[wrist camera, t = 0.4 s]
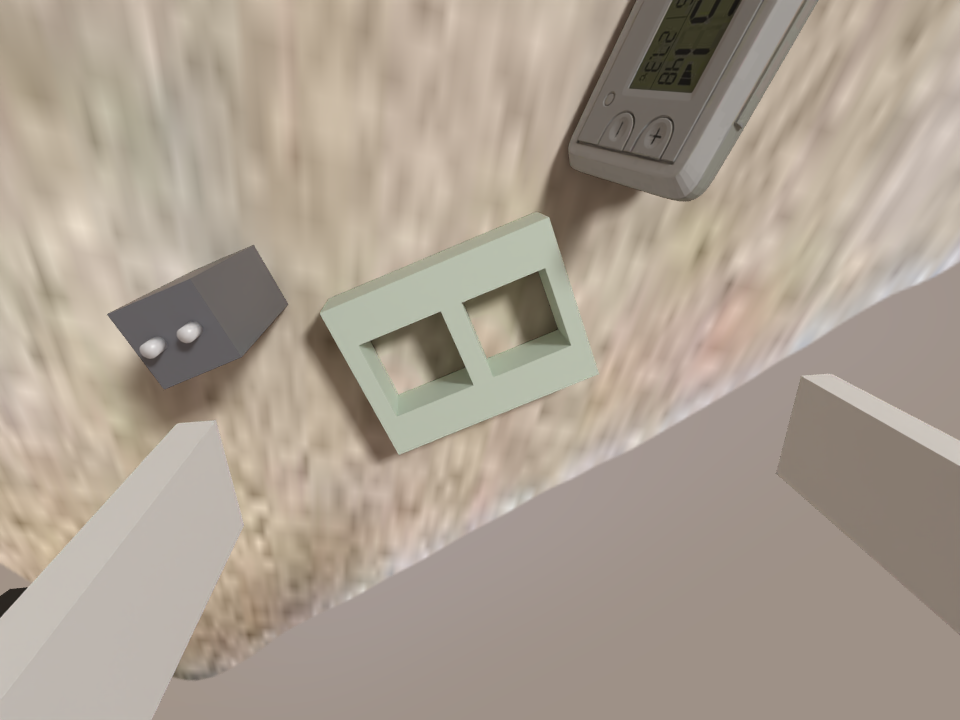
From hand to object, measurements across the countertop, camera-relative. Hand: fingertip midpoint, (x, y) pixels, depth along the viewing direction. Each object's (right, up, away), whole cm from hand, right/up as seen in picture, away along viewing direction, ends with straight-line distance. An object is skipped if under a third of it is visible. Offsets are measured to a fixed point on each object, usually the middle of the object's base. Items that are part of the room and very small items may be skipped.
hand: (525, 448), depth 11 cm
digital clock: (+10, +21, +20) cm, 31 cm away
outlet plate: (-2, +4, +26) cm, 26 cm away
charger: (-18, +7, +23) cm, 29 cm away
